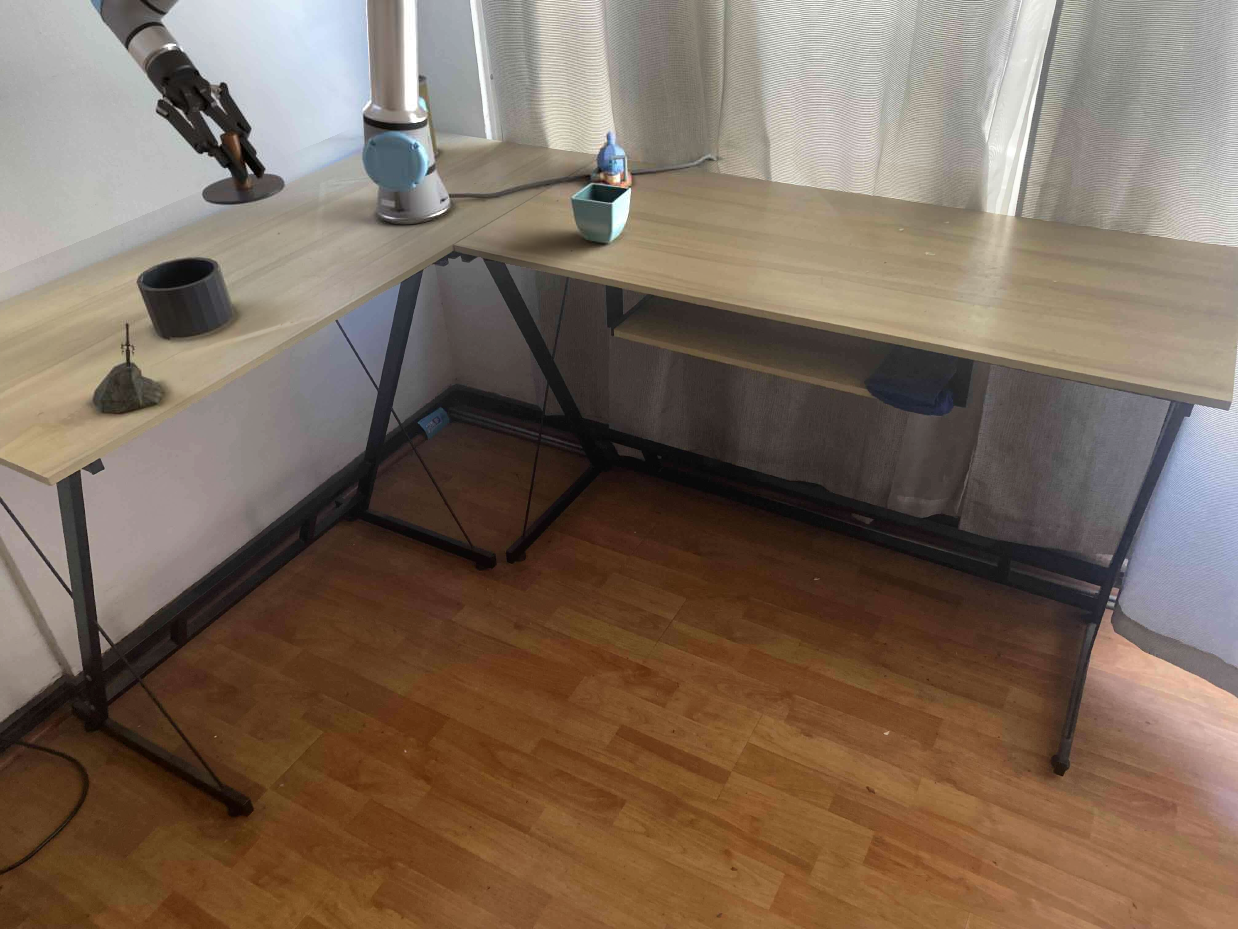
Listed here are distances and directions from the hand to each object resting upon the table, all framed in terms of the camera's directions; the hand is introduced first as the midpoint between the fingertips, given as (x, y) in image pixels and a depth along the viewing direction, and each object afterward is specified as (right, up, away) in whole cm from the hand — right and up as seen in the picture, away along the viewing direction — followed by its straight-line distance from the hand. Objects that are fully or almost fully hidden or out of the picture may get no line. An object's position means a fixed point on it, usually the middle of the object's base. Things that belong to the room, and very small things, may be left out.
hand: (253, 176), depth 157 cm
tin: (-10, -25, 0) cm, 27 cm away
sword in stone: (-11, -40, -19) cm, 45 cm away
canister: (+13, +26, +68) cm, 74 cm away
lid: (-3, -1, +4) cm, 5 cm away
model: (+61, +14, +47) cm, 78 cm away
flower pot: (+59, -5, +22) cm, 63 cm away
